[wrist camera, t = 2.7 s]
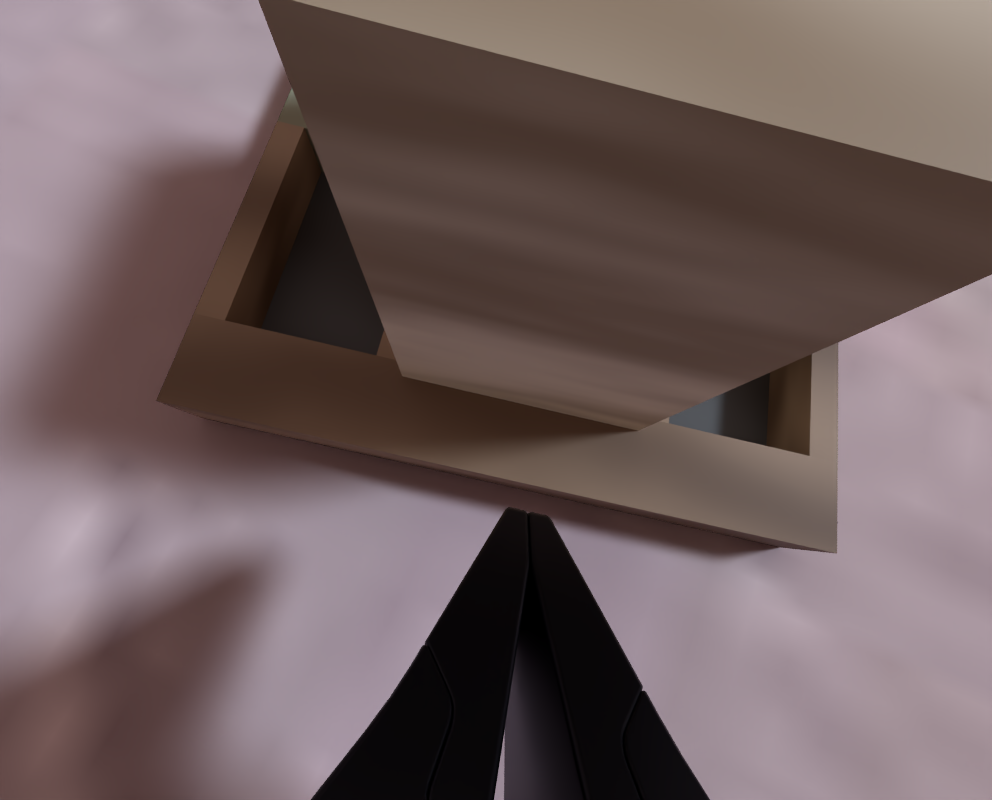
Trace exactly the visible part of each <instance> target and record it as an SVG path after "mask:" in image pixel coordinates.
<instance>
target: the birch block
mask: <svg viewBox="0 0 992 800" xmlns="http://www.w3.org/2000/svg"><path fill="white" fill-rule="evenodd" d="M259 3H260V6H261V8H262V11H263V13H264V16H265V19H266V21H267V24H268V27H269V29H270V32H271V34H272V37H273V40H274V42H275V45H276V47H277V50H278V53H279V55H280V58H281V61H282V63H283V66H284V68H285V71H286V74H287V76H288V79H289V81H290V84H291V87H292V89H293V92H294V94H295V97H296V100H297V102H298V105H299V108H300V110H301V113H302V115H303V118H304V121H305V123H306V126H307V128H308V131H309V134H310V136H311V139H312V142H313V144H314V147H315V149H316V152H317V155H318V157H319V160H320V162H321V165H322V168H323V170H324V173H325V176H326V178H327V181H328V183H329V186H330V189H331V191H332V194H333V196H334V199H335V202H336V204H337V207H338V209H339V212H340V215H341V217H342V220H343V223H344V225H345V228H346V230H347V233H348V236H349V238H350V241H351V243H352V246H353V249H354V251H355V254H356V257H357V259H358V262H359V264H360V267H361V270H362V272H363V275H364V277H365V280H366V283H367V285H368V288H369V290H370V293H371V296H372V298H373V301H374V304H375V306H376V309H377V311H378V314H379V317H380V319H381V322H382V324H383V327H384V330H385V332H386V335H387V338H388V340H389V343H390V345H391V348H392V351H393V353H394V356H395V358H396V361H397V364H398V366H399V369H400V372H401V374H402V376H403V377H408V378H412V379H416V380H421V381H425V382H429V383H434V384H438V385H442V386H447V387H451V388H455V389H460V390H464V391H468V392H473V393H477V394H481V395H486V396H490V397H494V398H499V399H503V400H507V401H512V402H516V403H520V404H525V405H529V406H533V407H538V408H542V409H546V410H551V411H555V412H559V413H564V414H568V415H572V416H577V417H581V418H585V419H590V420H594V421H598V422H603V423H607V424H611V425H616V426H620V427H624V428H629V429H633V430H637V431H639V430H641V429H643V428H646V427H648V426H650V425H652V424H655V423H657V422H659V421H661V420H664V419H666V418H668V417H670V416H673V415H675V414H677V413H680V412H682V411H684V410H686V409H689V408H691V407H693V406H695V405H698V404H700V403H702V402H704V401H707V400H709V399H711V398H713V397H716V396H718V395H720V394H722V393H725V392H727V391H729V390H731V389H734V388H736V387H738V386H740V385H743V384H745V383H747V382H750V381H752V380H754V379H756V378H759V377H761V376H763V375H765V374H768V373H770V372H772V371H774V370H777V369H779V368H781V367H783V366H786V365H788V364H790V363H792V362H795V361H797V360H799V359H801V358H804V357H806V356H808V355H811V354H813V353H815V352H817V351H820V350H822V349H824V348H826V347H829V346H831V345H833V344H835V343H838V342H840V341H842V340H844V339H847V338H849V337H851V336H853V335H856V334H858V333H860V332H862V331H865V330H867V329H869V328H872V327H874V326H876V325H878V324H881V323H883V322H885V321H887V320H890V319H892V318H894V317H896V316H899V315H901V314H903V313H905V312H908V311H910V310H912V309H914V308H917V307H919V306H921V305H923V304H926V303H928V302H930V301H933V300H935V299H937V298H939V297H942V296H944V295H946V294H948V293H951V292H953V291H955V290H957V289H960V288H962V287H964V286H966V285H969V284H971V283H973V282H975V281H978V280H980V279H982V278H984V277H987V276H989V275H991V274H992V0H259Z"/></svg>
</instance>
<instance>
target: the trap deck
mask: <svg viewBox="0 0 992 800" xmlns="http://www.w3.org/2000/svg"><path fill="white" fill-rule="evenodd" d="M156 401H158V402H161V403H164V404H167V405H169V406H172V407H175V408H177V409H180V410H183V411H185V412H188V413H191V414H193V415H196V416H199V417H201V418H206V419H210V420H215V421H219V422H223V423H228V424H232V425H237V426H241V427H246V428H250V429H255V430H259V431H264V432H268V433H273V434H277V435H282V436H286V437H290V438H295V439H299V440H304V441H308V442H313V443H317V444H322V445H326V446H331V447H335V448H340V449H344V450H349V451H353V452H358V453H362V454H366V455H371V456H375V457H380V458H384V459H389V460H393V461H398V462H402V463H407V464H411V465H416V466H420V467H425V468H429V469H433V470H438V471H442V472H447V473H451V474H456V475H460V476H465V477H469V478H474V479H478V480H483V481H487V482H492V483H496V484H500V485H505V486H509V487H514V488H518V489H523V490H527V491H532V492H536V493H541V494H545V495H550V496H554V497H559V498H563V499H568V500H572V501H576V502H581V503H585V504H590V505H594V506H599V507H603V508H608V509H612V510H617V511H621V512H626V513H630V514H635V515H639V516H643V517H648V518H652V519H657V520H661V521H666V522H670V523H675V524H679V525H684V526H688V527H693V528H697V529H702V530H706V531H711V532H715V533H719V534H724V535H728V536H733V537H737V538H742V539H746V540H751V541H755V542H760V543H764V544H769V545H773V546H778V547H783V548H792V549H801V550H810V551H820V552H829V553H837V458H838V343H835V344H833V345H831V346H829V347H826V348H824V349H822V350H820V351H817V352H815V353H813V354H811V355H808V356H806V357H804V358H801V359H799V360H797V361H795V362H792V363H790V364H788V365H786V366H783V367H781V368H779V369H777V370H774V371H772V372H770V373H768V374H765V375H763V376H761V377H759V378H756V379H754V380H752V381H750V382H747V383H745V384H743V385H740V386H738V387H736V388H734V389H731V390H729V391H727V392H725V393H722V394H720V395H718V396H716V397H713V398H711V399H709V400H707V401H704V402H702V403H700V404H698V405H695V406H693V407H691V408H689V409H686V410H684V411H682V412H680V413H677V414H675V415H673V416H670V417H668V418H666V419H664V420H661V421H659V422H657V423H655V424H652V425H650V426H648V427H646V428H643V429H641V430H639V431H637V430H633V429H629V428H624V427H620V426H616V425H611V424H607V423H603V422H598V421H594V420H590V419H585V418H581V417H577V416H572V415H568V414H564V413H559V412H555V411H551V410H546V409H542V408H538V407H533V406H529V405H525V404H520V403H516V402H512V401H507V400H503V399H499V398H494V397H490V396H486V395H481V394H477V393H473V392H468V391H464V390H460V389H455V388H451V387H447V386H442V385H438V384H434V383H429V382H425V381H421V380H416V379H412V378H408V377H403V376H402V374H401V372H400V369H399V366H398V364H397V361H396V358H395V356H394V353H393V351H392V348H391V345H390V343H389V340H388V338H387V335H386V332H385V330H384V327H383V324H382V322H381V319H380V317H379V314H378V311H377V309H376V306H375V304H374V301H373V298H372V296H371V293H370V290H369V288H368V285H367V283H366V280H365V277H364V275H363V272H362V270H361V267H360V264H359V262H358V259H357V257H356V254H355V251H354V249H353V246H352V243H351V241H350V238H349V236H348V233H347V230H346V228H345V225H344V223H343V220H342V217H341V215H340V212H339V209H338V207H337V204H336V202H335V199H334V196H333V194H332V191H331V189H330V186H329V183H328V181H327V178H326V176H325V173H324V170H323V168H322V165H321V162H320V160H319V157H318V155H317V152H316V149H315V147H314V144H313V142H312V139H311V136H310V134H309V131H308V128H307V126H306V123H305V121H304V118H303V115H302V113H301V110H300V108H299V105H298V102H297V100H296V97H295V94H294V92H293V89H291V91H290V93H289V95H288V98H287V100H286V102H285V105H284V107H283V109H282V112H281V114H280V116H279V119H278V121H277V123H276V125H275V128H274V130H273V132H272V135H271V137H270V139H269V142H268V144H267V146H266V149H265V151H264V153H263V155H262V158H261V160H260V162H259V165H258V167H257V169H256V172H255V174H254V176H253V178H252V181H251V183H250V185H249V188H248V190H247V192H246V195H245V197H244V199H243V202H242V204H241V206H240V208H239V211H238V213H237V215H236V218H235V220H234V222H233V225H232V227H231V229H230V232H229V234H228V236H227V238H226V241H225V243H224V245H223V248H222V250H221V252H220V255H219V257H218V259H217V261H216V264H215V266H214V268H213V271H212V273H211V275H210V278H209V280H208V282H207V285H206V287H205V289H204V291H203V294H202V296H201V298H200V301H199V303H198V305H197V308H196V310H195V312H194V315H193V317H192V319H191V321H190V324H189V326H188V328H187V331H186V333H185V335H184V338H183V340H182V342H181V344H180V347H179V349H178V351H177V354H176V356H175V358H174V361H173V363H172V365H171V368H170V370H169V372H168V374H167V377H166V379H165V381H164V384H163V386H162V388H161V391H160V393H159V395H158V398H157V400H156Z"/></svg>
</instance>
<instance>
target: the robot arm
mask: <svg viewBox="0 0 992 800" xmlns="http://www.w3.org/2000/svg"><path fill="white" fill-rule="evenodd" d="M642 688H643V686H642V684H641V682H640V680H639V679H638V677H637V675H636V673H635V671H634V670H633V668H632V666H631V664H630V662H629V660H628V659H627V657H626V655H625V653H624V651H623V650H622V648H621V646H620V644H619V642H618V640H617V639H616V637H615V635H614V633H613V631H612V630H611V628H610V626H609V624H608V622H607V620H606V619H605V617H604V615H603V613H602V611H601V609H600V608H599V606H598V604H597V602H596V600H595V599H594V597H593V595H592V593H591V591H590V589H589V588H588V586H587V584H586V582H585V580H584V579H583V577H582V575H581V573H580V571H579V569H578V568H577V566H576V564H575V562H574V560H573V559H572V557H571V555H570V553H569V551H568V549H567V548H566V546H565V544H564V542H563V540H562V539H561V537H560V535H559V533H558V531H557V529H556V528H555V526H554V524H553V522H552V520H551V519H550V517H548V516H547V515H543V514H538V513H534V512H530V513H528V514H527V512H526V511H524V510H520V509H516V508H511V507H508V508H506V509H505V511H504V513H503V514H502V516H501V518H500V519H499V521H498V523H497V524H496V526H495V528H494V529H493V531H492V532H491V534H490V536H489V537H488V539H487V541H486V542H485V544H484V546H483V547H482V549H481V551H480V552H479V554H478V556H477V557H476V559H475V561H474V562H473V564H472V566H471V567H470V569H469V570H468V572H467V574H466V575H465V577H464V579H463V580H462V582H461V584H460V585H459V587H458V589H457V590H456V592H455V594H454V595H453V597H452V599H451V600H450V602H449V603H448V605H447V607H446V608H445V610H444V612H443V613H442V615H441V617H440V618H439V620H438V622H437V623H436V625H435V627H434V628H433V630H432V632H431V633H430V635H429V636H428V638H427V640H426V641H425V645H423V646H422V647H421V649H420V651H419V652H418V654H417V656H416V657H415V659H414V661H413V662H412V664H411V666H410V667H409V669H408V670H407V672H406V673H405V675H404V676H403V678H402V679H401V681H400V683H399V684H398V686H397V687H396V689H395V690H394V692H393V693H392V695H391V696H390V698H389V699H388V700H387V702H386V703H385V705H384V706H383V707H382V709H381V710H380V711H379V713H378V714H377V715H376V717H375V718H374V719H373V721H372V722H371V723H370V725H369V726H368V727H367V729H366V730H365V732H364V733H363V734H362V735H361V737H360V738H359V739H358V741H357V742H356V743H355V744H354V746H353V747H352V748H351V749H350V751H349V752H348V753H347V754H346V756H345V757H344V758H343V760H342V761H341V762H340V763H339V765H338V766H337V767H336V768H335V770H334V771H333V772H332V773H331V775H330V776H329V777H328V779H327V780H326V781H325V782H324V784H323V785H322V786H321V787H320V789H319V790H318V791H317V792H316V794H315V795H314V796H313V798H312V799H311V800H494V795H495V789H496V782H497V775H498V769H499V762H500V756H501V749H502V743H503V736H504V730H505V769H504V800H710V799H709V797H708V796H707V794H706V793H705V791H704V789H703V788H702V786H701V785H700V783H699V782H698V780H697V778H696V777H695V775H694V774H693V772H692V770H691V769H690V767H689V766H688V764H687V763H686V761H685V759H684V758H683V756H682V755H681V753H680V751H679V749H678V748H677V746H676V744H675V742H674V741H673V739H672V737H671V735H670V734H669V732H668V730H667V729H666V727H665V725H664V723H663V722H662V720H661V718H660V716H659V715H658V713H657V711H656V709H655V707H654V706H653V704H652V702H651V700H650V698H649V696H648V695H647V693H646V692H645V691H642Z"/></svg>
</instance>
